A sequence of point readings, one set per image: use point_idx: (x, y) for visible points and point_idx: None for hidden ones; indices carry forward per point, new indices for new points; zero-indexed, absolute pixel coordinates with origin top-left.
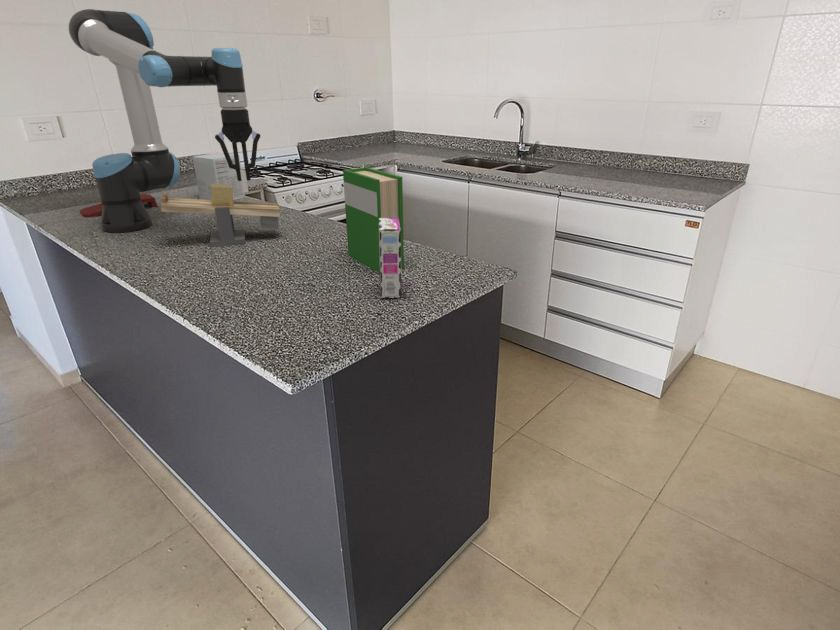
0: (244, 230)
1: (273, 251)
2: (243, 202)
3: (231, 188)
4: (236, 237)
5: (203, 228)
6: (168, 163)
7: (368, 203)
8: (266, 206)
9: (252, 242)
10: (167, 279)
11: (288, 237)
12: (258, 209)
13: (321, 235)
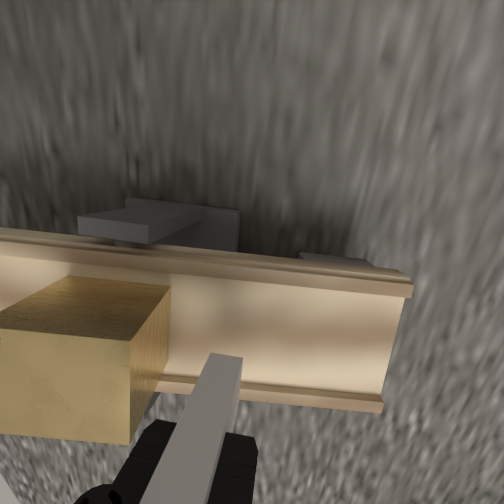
0: (238, 216)
1: (293, 434)
2: (223, 278)
3: (123, 441)
4: None
5: (98, 62)
6: None
7: None
8: (337, 313)
9: None
10: (62, 490)
11: None
12: (280, 401)
13: (490, 357)
